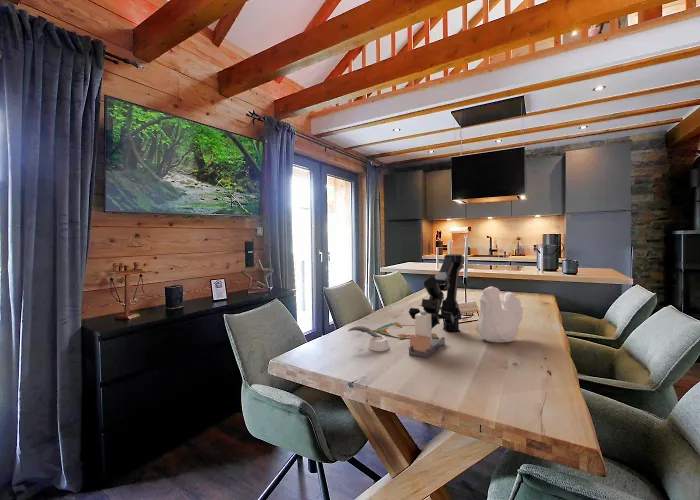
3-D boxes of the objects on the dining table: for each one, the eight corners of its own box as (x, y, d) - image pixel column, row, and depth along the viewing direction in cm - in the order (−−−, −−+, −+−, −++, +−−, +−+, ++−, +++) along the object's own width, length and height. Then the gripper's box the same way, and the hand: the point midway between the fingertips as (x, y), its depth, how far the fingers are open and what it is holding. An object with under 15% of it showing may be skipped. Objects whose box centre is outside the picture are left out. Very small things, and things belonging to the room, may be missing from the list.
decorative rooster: (490, 349, 137) (490, 290, 135) (468, 337, 152) (468, 284, 151) (540, 343, 142) (541, 286, 141) (515, 333, 157) (515, 282, 156)
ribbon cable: (374, 340, 152) (438, 339, 151) (374, 338, 152) (438, 336, 151) (371, 324, 181) (425, 323, 180) (371, 322, 181) (425, 321, 180)
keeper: (420, 345, 138) (419, 309, 137) (431, 347, 135) (431, 311, 134) (415, 348, 134) (414, 312, 133) (427, 350, 131) (426, 313, 130)
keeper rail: (427, 341, 148) (427, 324, 148) (444, 344, 144) (444, 327, 143) (408, 354, 132) (408, 336, 132) (427, 358, 127) (427, 339, 127)
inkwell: (392, 350, 137) (391, 327, 137) (350, 354, 134) (349, 330, 133) (385, 343, 146) (385, 321, 146) (346, 347, 143) (346, 324, 142)
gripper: (409, 289, 145) (399, 320, 137) (451, 293, 134) (443, 326, 126) (417, 303, 152) (407, 333, 143) (457, 308, 141) (449, 340, 133)
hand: (425, 333), depth 136 cm, fingers closed, pressing on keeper
